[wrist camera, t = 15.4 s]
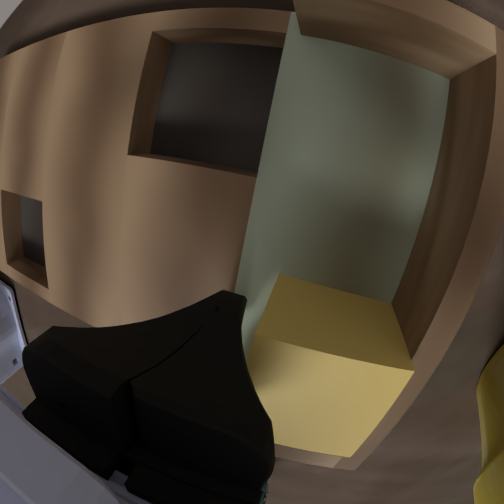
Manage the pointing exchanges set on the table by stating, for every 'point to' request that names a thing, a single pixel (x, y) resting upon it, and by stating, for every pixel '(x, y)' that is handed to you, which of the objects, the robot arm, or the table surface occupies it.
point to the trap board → (259, 166)
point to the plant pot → (491, 432)
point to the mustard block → (326, 365)
